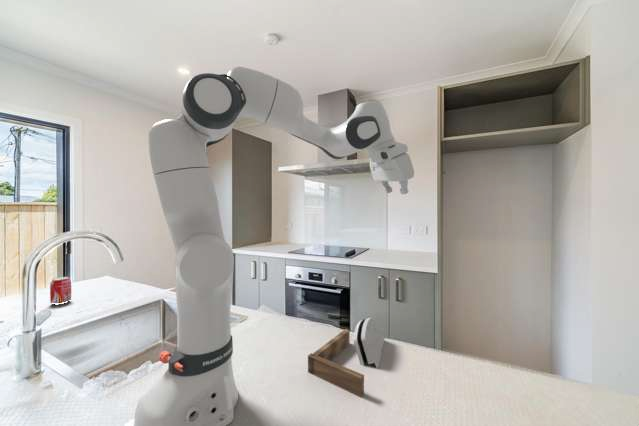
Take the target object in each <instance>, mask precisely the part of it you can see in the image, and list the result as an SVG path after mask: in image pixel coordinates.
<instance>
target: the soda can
mask: <svg viewBox="0 0 639 426" xmlns="http://www.w3.org/2000/svg"><path fill="white" fill-rule="evenodd" d="M49 299H50V300H49V301H50V302H49V303H50V304H51V303H62V302H66V301H69V300H72V280H71V278H70V277H69V276H61V277H54V278H51V281H50V284H49ZM69 302H70V301H69Z"/></svg>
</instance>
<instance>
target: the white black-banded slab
mask: <svg viewBox="0 0 639 426" xmlns="http://www.w3.org/2000/svg"><path fill="white" fill-rule="evenodd" d="M353 343H354V347H355V352H356V355H357V358H358V362H359V365H361V366H365V364H366V363H367V364H368V365H372V364H374V365H375V368H376V369H379V366H380V361H381V357H382V353H383V349H384V345H385V338H384V335H383V334H382V333H379V331H378V328H377V324H376V322H375V319H374V317H369V318H364V319H361V320H359V321H358V322H357V324H356V325H355V329H354V334H353Z"/></svg>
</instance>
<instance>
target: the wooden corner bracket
mask: <svg viewBox="0 0 639 426" xmlns="http://www.w3.org/2000/svg"><path fill="white" fill-rule="evenodd" d="M350 344H351V341H350V329H347V328H345V329H343V330H342V331H340V333H338V334H337V335H336V336H334V337H332V339H330V340H329V341H328V342H326V343H325V344H324V345H322V346H321V347H320V348H318V349H317V350H315V351H314V352H313V353H310V354H308V355H307V373H309V374H311V375H314V376H315V377H317V378H319V379H322V380H324V381H325V382H328V383H330V384H332V385H334V386H336V387H338V388H340V389H343V390H345V391H347V392H349V393H351V394H353V395H356V396H358V397H360V398H362V397H363V395H364V394H365V375H364V374H362V373H360V372H358V371H356V370H352V369H351V368H348V367H346V366H343V365H341V364H339V363H336V362H334V361H332V360H333V359H334V358H335V357H336V356H337V355H338V354H339V353H341V352H342V351H343V350H344V349H346V348H347V346H349V345H350Z"/></svg>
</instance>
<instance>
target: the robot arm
mask: <svg viewBox="0 0 639 426" xmlns="http://www.w3.org/2000/svg"><path fill="white" fill-rule="evenodd" d="M239 118H247V119H253V120H256V121H258V122H259V123H260V122H261V123H263V124H266V125H268V126H271V127H274V128H276V129H279V130H281V131H284V132H285V133H287V134H289V135H291V136H293V137H295V138H297V139H300V140H301V141H304V142H305V143H308V144H311V145H313V146H315V147H317V148H319V149H320V150H321V151H323V153H325V154H326V155H327V156H328V157H330V158H332V159H335V160H342V159H345V158H347V157H349V156H351V155H354V154H356V153H360V152H361V151H364V150H365V149H367V150H366V151H367V152H368V156H369V169H370V170H369V171H370V172H371V176H372V179H373V181H374V182H377V183H378V182H380V185H381V186H382V187H383V188H384V191H385V193H386V194H390V193H392V192H393V188H392V186H390V184H389V182H398V183H399V185H400V188H399V191H400V194H401V195H406V194H408V193H409V189H408V188H409V187H408V186H409V185H408V183H409V181H408V180H410V179H412V178H414V177H415V176H414V175H415V169H414V166H413V162H412V159H411V156H410V155H409V153H408V151H409V149H408V145H407V144H405V143H401V142H398V141H396V139H395V136H394V134H393V133H392V130H391V123H390V119H389V116H388V114H387V111H386V109H385V107H384V105H383V104H382V102H381V101H380V100H377V99H368V100H365V101H363V102H361V103H359V104H357V105H356V106H355V110H354V111H353V113H352V114H351V115H350V116H349V118H347V119H346V121H344V122H342V123H341V124H339V125H337V126H334V127H329V128H327V127H324V126H322V125H321V124H319V123H318V122H317V123H316V122H315V121H313V120H311V119H309V118H307V117H306V116H305V114H304V101H303V98H302V96H301V94H300V92H299V91H298V90H297V89H296V88H295V87H294V86H292V85H291V84H289V83H287V82H285V81H283V80H281V79H279V78H276V77H275V76H271V75H270V74H268V73H264V72H261V71H258V70H255V69H251V68H247V67H243V66H236V67H235V66H234V67H232V68H231V69H229V71H228V72H227V74H223V73H222V74H216V73H209V72H207V73H206V72H205V73H199V74H197V75H194V76H193V77H191V78H190V79H189V80H188V82H187V83H186V85H185V87H184V89H183V91H182V106H181V114H180V115H179V117H176V118H174V119H173V118H172V119H163V120H161V121H158V122H156V123H154V124H153V125H151V128H150V129H149V131H148V151H149V158H150V164H151V165H150V166H151V170H152V173H153V178H154V181H155V185H156V186H155V187H156V190H157V192H158V196H159V200H160V204H161V207H162V212H163V215H164V218H165V220H166V223H167V227H168V229H169V233H170V235H171V239H172V242H173V245H174V246H173V247H174V249H175V253H176V258H175V265H174V266H175V291H176V294H175V296H176V297H175V298H176V319H177V320H176V322H177V323H176V324H177V326H176V327H177V330H176V332H177V333H176V334H177V339H176V342H177V344H176V347H175V348H174V351H173V353H170V352H169V351H168V350H163V351H161V352H160V353H159V355H158V361H160V362H161V363H162V364H163V365H164V364H165V365H166V364H168V367H167V368H166V369H165V370H164V371H163V372H162V374H161V375H160V376H159V377H158V378H157V379H156V380H155V381H154V382H153V383H152V384H151V385H150V387H148V389H146V391H145V392H144V393H143V394H142V395H141V396H140V397H139V400H138V401H137V403H136V404H137V405H136V407H135V412H134V417H133V418H131V419H130V420H129V421H127V422H126V423H125V424H123V426H227V425H229V424H231V423H232V422H233V421H234V415H235V414H234V412H235V411H234V410H235V407H236V405H237V403H238V400H239V390H238V389H237V385H236V382H235V377H234V372H233V371H234V370H233V361H232V356H233V352H234V349H233V348H234V343H233V335H232V334H231V331H232V330H231V326H232V325H231V323H232V322H231V321H232V320H231V316H232V315H231V303H232V293H233V283H234V268H235V267H234V266H235V265H234V264H235V263H234V262H235V256H234V251H233V249H232V248H231V245H229V243H228V242H227V241H226V239H225V235H224V231H223V227H222V221H221V215H220V214H221V213H220V208H219V207H220V206H219V201H218V197H217V192H216V189H215V188H216V187H215V184H214V181H213V180H214V179H213V176H212V171H211V168H210V163H209V159H208V155H207V147H209V146H212V145H214V144H217V143H220V142H221V141H223V140H225V139H226V137H227V136H228V134H229V133H230V132H231V131H232V129H233V127H234V125H235V123H236V119H239Z"/></svg>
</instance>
